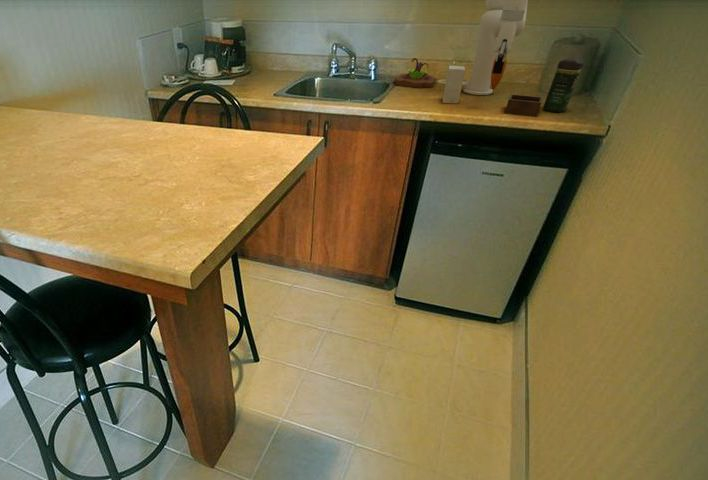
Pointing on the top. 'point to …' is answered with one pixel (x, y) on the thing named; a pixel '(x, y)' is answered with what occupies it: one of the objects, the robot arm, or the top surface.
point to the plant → (415, 77)
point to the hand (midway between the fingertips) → (497, 71)
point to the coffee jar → (563, 84)
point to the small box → (453, 84)
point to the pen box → (523, 105)
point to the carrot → (497, 75)
